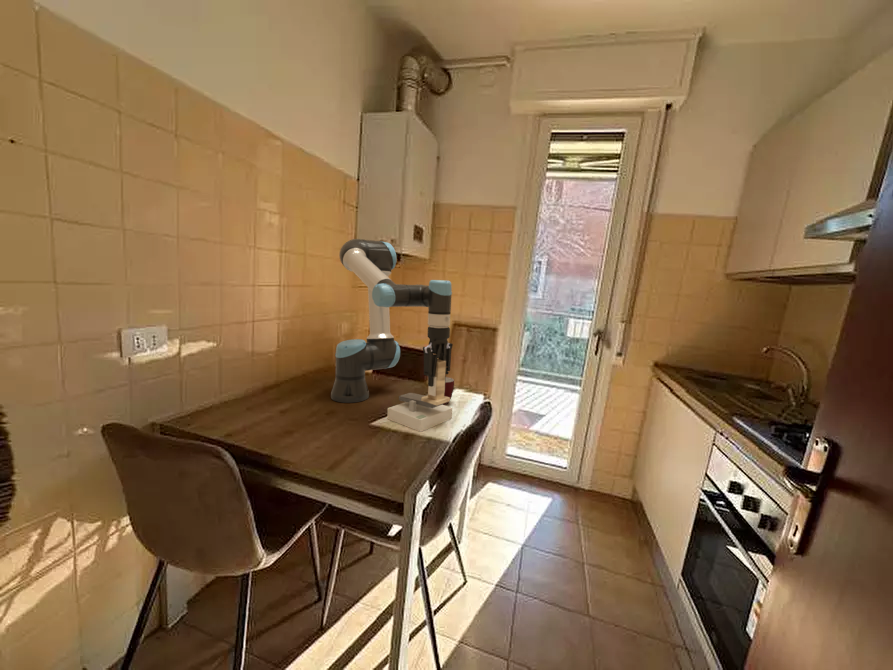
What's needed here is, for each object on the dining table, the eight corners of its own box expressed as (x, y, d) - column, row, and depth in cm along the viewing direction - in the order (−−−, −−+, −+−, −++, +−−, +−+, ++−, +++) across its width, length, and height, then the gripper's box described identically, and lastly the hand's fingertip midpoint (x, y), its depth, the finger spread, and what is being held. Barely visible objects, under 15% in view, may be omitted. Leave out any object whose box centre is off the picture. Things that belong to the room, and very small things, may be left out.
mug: (449, 409, 147) (451, 385, 145) (429, 407, 149) (430, 382, 147) (454, 401, 157) (455, 378, 156) (435, 399, 159) (436, 376, 157)
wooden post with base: (421, 400, 130) (423, 360, 128) (434, 396, 136) (436, 357, 134) (437, 405, 126) (439, 364, 124) (449, 400, 132) (452, 361, 129)
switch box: (387, 418, 134) (387, 398, 133) (419, 407, 148) (420, 388, 147) (420, 431, 125) (421, 410, 124) (451, 418, 138) (453, 398, 137)
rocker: (399, 400, 138) (398, 395, 138) (410, 396, 143) (410, 392, 142) (432, 408, 128) (432, 403, 128) (443, 404, 133) (443, 399, 133)
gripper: (431, 329, 118) (428, 401, 121) (462, 325, 131) (459, 390, 135) (413, 327, 123) (411, 396, 126) (445, 323, 136) (443, 386, 139)
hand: (436, 393), depth 130 cm, fingers closed on wooden post with base, 4 cm apart
